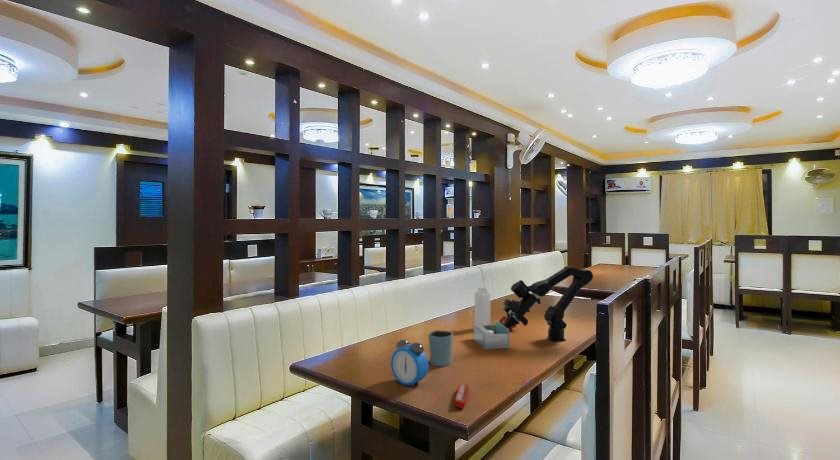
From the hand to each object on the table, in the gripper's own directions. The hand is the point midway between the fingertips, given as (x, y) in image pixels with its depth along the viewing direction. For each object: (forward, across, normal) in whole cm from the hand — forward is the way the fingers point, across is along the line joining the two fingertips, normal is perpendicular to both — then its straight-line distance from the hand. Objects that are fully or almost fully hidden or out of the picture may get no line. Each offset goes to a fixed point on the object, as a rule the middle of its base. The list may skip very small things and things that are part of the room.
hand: (503, 328), depth 193 cm
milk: (+7, -25, +3) cm, 26 cm away
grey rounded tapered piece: (+9, 0, -1) cm, 9 cm away
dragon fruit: (-2, -20, +12) cm, 23 cm away
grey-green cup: (+29, +22, -20) cm, 42 cm away
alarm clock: (+40, +41, -30) cm, 65 cm away
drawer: (+10, 0, 0) cm, 10 cm away
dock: (+10, 0, 0) cm, 10 cm away
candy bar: (+30, +56, -19) cm, 67 cm away
